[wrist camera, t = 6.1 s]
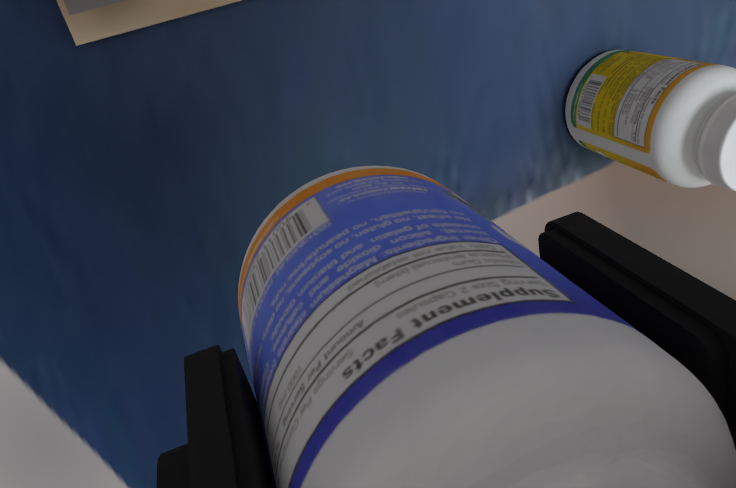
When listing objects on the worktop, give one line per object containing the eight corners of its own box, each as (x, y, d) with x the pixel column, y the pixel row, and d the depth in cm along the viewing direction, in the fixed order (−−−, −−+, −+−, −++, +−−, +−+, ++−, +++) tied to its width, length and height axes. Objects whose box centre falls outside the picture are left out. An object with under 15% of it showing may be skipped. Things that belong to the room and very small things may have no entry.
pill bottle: (491, 330, 15) (948, 822, 6) (281, 421, 14) (471, 1134, 5) (448, 118, 12) (1121, 454, 4) (188, 213, 11) (266, 937, 3)
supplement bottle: (547, 86, 31) (692, 125, 22) (632, 27, 31) (808, 45, 22) (580, 169, 33) (721, 233, 25) (659, 115, 33) (825, 160, 25)
